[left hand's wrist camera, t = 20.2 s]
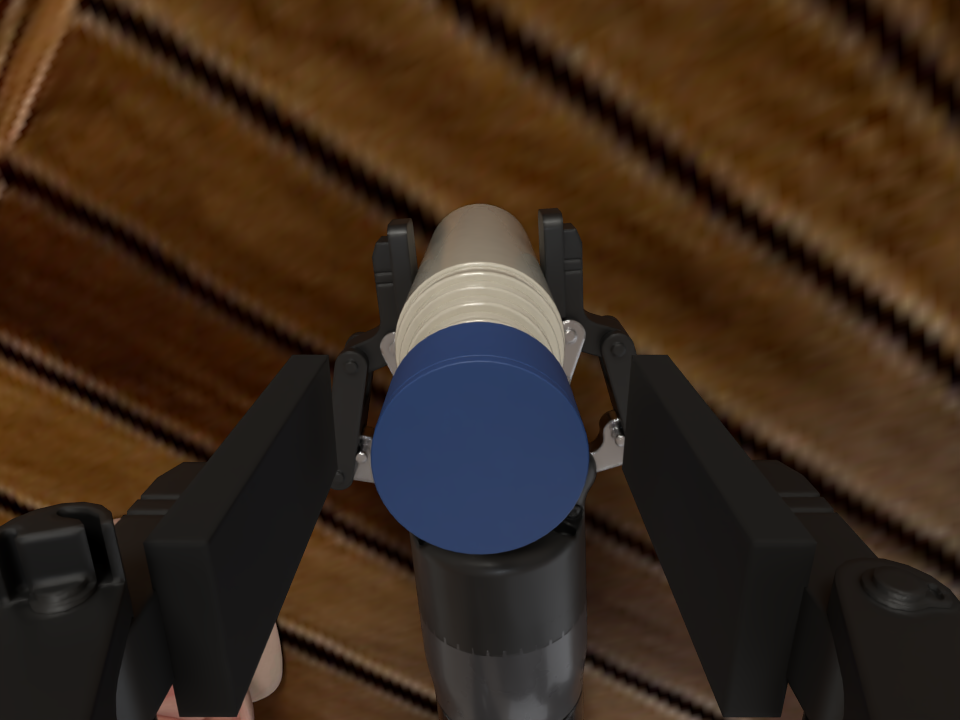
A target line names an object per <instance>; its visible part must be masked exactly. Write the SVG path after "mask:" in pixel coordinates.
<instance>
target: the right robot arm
mask: <svg viewBox="0 0 960 720" xmlns="http://www.w3.org/2000/svg"><path fill="white" fill-rule="evenodd" d="M538 224H539V249H540V267H541V270H542V272H543V274H544V277H545V279H546V282H547V284H548V287H549V289H550V291H551V294H552V296H553V299H554V301H555V304H556V306H557V308H558V311H559V313H560V316H561V319H562V323H563V327H564V333H565V357H564V365H563V370H564V372H565V374H566V376H567V379H568V382H569V384H570V383H571V378H572V375H573V372H574V369H575V367H576V364H577V361H578V358H579V355H580V352H585V353H588V354H592V355H596V356H598V357H599V361H600V364H601V368H602V371H603V375H604V378H605V382H606V385H607V389H608V392H609V396H610V399H611V403H612V406H613V410H611V411H608V412H606V413H605V414H604V415H603V416H602V417H601V419H600V421H599V428H600V431H599V434H598V436H597V438H596V439H595V440H594V441H592V442H590V443H588V445H589V469H588V475H587V479H586V483H585V486H584V488H583V491H582V493H581V495H580V497H579V499H578V501H577V502H576V504H575V506H574V508H573V509H572V510H571V511H570V513H569V514H568V515H567V517H566V518H565V519H564V520H563V521H562V522H561V523H560V524H559V525H558V526H557V527H556V528H554V529H553V530H552V531H550V532H549V533H548V534H546V535H545V536H543V537H541V538H540V539H538V540H536V541H535V542H532V543H530V544H528V545H526V546H523V547H520V548H517V549H514V550H511V551H506V552H501V553H495V554H465V553H458V552H453V551H449V550H445V549H442V548H440V547H437V546H434V545H432V544H430V543H428V542H426V541H424V540H422V539H420V538H418V537H417V536H415V535H414V534H412V533H411V532H409V534H410V541H411V549H412V557H413V564H414V572H415V580H416V588H417V596H418V604H419V612H420V619H421V627H422V634H423V642H424V649H425V655H426V659H427V663H428V666H429V670H430V674H431V677H432V680H433V682H434V687H435V692H436V700H437V708H438V716H439V720H584V707H583V670H584V664H585V658H586V651H587V600H586V550H585V499H586V496H587V493H588V491H589V489H590V488H591V486H592V484H593V483H594V481H595V478H596V474H597V472H599V471H602V470H606V469H609V468H613V467H616V466H620V465H622V463H623V451H624V439H625V427H626V415H627V403H628V392H629V380H630V368H631V356H632V355H637V354H636V351H635V347H634V343H633V341H632V340H631V338H630V337H629V335H628V334H627V332H626V331H625V329H624V328H623V327H622V325H621V324H620V322H619V321H618V320H617V319H616V318H615V317H613V316H599V315H595V314H592V313H589V312H587V311H585V310H584V309H583V271H582V242H581V239H580V237H579V235H578V232H577V230H576V228H575V227H574V226H573V225H572V224H571V223H565V224H563V219H562V213H561V212H560V211H559V209H558V208H551V209H539V210H538ZM387 234H388V236H381V238H380V239H379V240H378V241H377V242H376V245H375V249H374V252H373V256H372V259H373V267H374V273H375V282H376V290H377V297H378V305H379V313H380V325H379V326H378V327H376V328H374V329H372V330H369V331H367V332H357V333H354V334H353V335H351V336H350V338H349V339H348V341H347V343H346V345H345V348H344V350H343V351H342V352H341V353H340V354H339V356H338V358H337V359H336V362H335V369H334V378H333V387H332V403H333V415H334V427H335V439H336V451H337V463H338V470H337V472H336V475H335V477H334V480H333V482H332V485H331V487H330V488H332V489H335V490H343V489H346V488H348V487H349V486H350V485H351V484H352V482H353V480H359V481H366V482H372V483H374V480H373V475H372V469H371V454H370V453H371V445H372V439H373V435H374V431H375V428H373V427H368V426H367V418H368V410H369V403H370V395H371V387H372V379H373V372H374V370H377V369H379V368H381V367H384V366H386V365H388V367H389V369H390V370H391V372H392V374H393V376H394V374H395V371H396V369H397V365H396V357H395V332H396V326H397V322H398V319H399V316H400V313H401V311H402V308H403V306H404V303H405V301H406V299H407V296H408V294H409V291H410V289H411V286H412V284H413V282H414V279H415V277H416V274H417V272H418V268H417V259H416V249H415V240H414V231H413V223H412V219H411V218H408V219H395V220H392V221H391V222H390V223H389V224H388V228H387Z"/></svg>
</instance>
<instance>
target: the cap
mask: <svg viewBox="0 0 960 720" xmlns="http://www.w3.org/2000/svg"><path fill="white" fill-rule="evenodd" d="M370 454H371V469H372V475H373V480H374V483H375V486H376V489H377V491H378V493H379V495H380V497H381V499H382V501H383V503H384V504H385V506H386V507H387V509H388V510H389V512H390V513H391V514H392V515H393V517H394V518H395V519H396V520H397V521H398V522H399V523H400V524H401V525H402V526H403V527H405V528H406V529H407V530H408V531H409V532H411V533H412V534H414V535H415V536H417V537H418V538H420V539H422V540H424V541H426V542H428V543H430V544H432V545H434V546H437V547H440V548H442V549H445V550H449V551H453V552H458V553H465V554H495V553H501V552H506V551H511V550H514V549H517V548H520V547H523V546H526V545H528V544H530V543H532V542H535V541H536V540H538V539H540V538H541V537H543V536H545V535H546V534H548V533H549V532H550V531H552V530H553V529H554V528H556V527H557V526H558V525H559V524H560V523H561V522H562V521H563V520H564V519H565V518H566V517H567V515H568V514H569V513H570V511H571V510H572V509H573V508H574V506H575V504H576V502H577V501H578V499H579V497H580V495H581V493H582V491H583V488H584V486H585V483H586V479H587V475H588V469H589V445H588V440H587V435H586V431H585V428H584V426H583V423H582V420H581V417H580V414H579V411H578V408H577V405H576V402H575V399H574V396H573V393H572V390H571V387H570V384H569V382H568V379H567V376H566V374H565V372H564V370H563V368H562V366H561V364H560V363H559V362H558V360H557V359H556V357H555V356H554V355H553V354H552V353H551V352H550V351H549V350H548V348H547V347H546V346H544V345H543V344H542V343H541V342H539V341H538V340H537V339H535V338H534V337H532V336H530V335H529V334H527V333H525V332H523V331H521V330H518V329H516V328H514V327H510V326H507V325H503V324H498V323H492V322H469V323H461V324H457V325H453V326H449V327H447V328H444V329H441V330H439V331H437V332H435V333H433V334H431V335H429V336H428V337H426V338H425V339H423V340H422V341H420V342H419V343H418V344H417V345H416V346H415V347H414V348H412V349H411V350H410V351H409V352H408V354H407V355H406V356H405V357H404V359H403V360H402V361H401V363H400V364H399V366H398V368H397V369H396V371H395V374H394V376H393V378H392V381H391V384H390V387H389V389H388V392H387V395H386V398H385V401H384V404H383V407H382V410H381V413H380V416H379V419H378V422H377V425H376V428H375V431H374V435H373V439H372V445H371V453H370Z"/></svg>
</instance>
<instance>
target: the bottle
mask: <svg viewBox="0 0 960 720" xmlns="http://www.w3.org/2000/svg"><path fill="white" fill-rule="evenodd" d="M469 322H492V323H498V324H503V325H507V326H510V327H514V328H516V329H518V330H521V331H523V332H525V333H527V334H529V335H530V336H532V337H534V338H535V339H537V340H538V341H539V342H541V343H542V344H543V345H544V346H546V347H547V348H548V350H549V351H550V352H551V353H552V354H553V355H554V356H555V357H556V359H557V360H558V362H559V363H560V364H561V366H562V368H563V365H564V357H565V333H564V327H563V323H562V319H561V316H560V313H559V311H558V308H557V306H556V304H555V301H554V299H553V296H552V294H551V291H550V289H549V287H548V284H547V282H546V279H545V277H544V274H543V272H542V270H541V267H540V265H539V262H538V260H537V257H536V255H535V253H534V250H533V248H532V245H531V243H530V240H529V238H528V236H527V234H526V231H525V230H524V228H523V226H522V225H521V224H520V223H519V221H518V220H517V219H516V218H515V217H514V216H512V215H511V214H510V213H508V212H507V211H505V210H503V209H501V208H499V207H496V206H492V205H487V204H473V205H468V206H464V207H461V208H459V209H457V210H455V211H453V212H452V213H450V214H449V215H447V216H446V217H445V218H444V219H443V220H442V221H441V222H440V224H439V225H438V226H437V228H436V230H435V231H434V233H433V236H432V238H431V240H430V243H429V245H428V248H427V250H426V252H425V255H424V257H423V260H422V262H421V265H420V267H419V269H418V272H417V274H416V277H415V279H414V282H413V284H412V286H411V289H410V291H409V294H408V296H407V299H406V301H405V303H404V306H403V308H402V311H401V313H400V316H399V319H398V322H397V326H396V332H395V357H396V365H397V368H398V366H399V364H400V363H401V361H402V360H403V359H404V357H405V356H406V355H407V354H408V352H409V351H410V350H411V349H412V348H414V347H415V346H416V345H417V344H418V343H419V342H420V341H422V340H423V339H425V338H426V337H428V336H429V335H431V334H433V333H435V332H437V331H439V330H441V329H444V328H447V327H449V326H453V325H457V324H461V323H469Z"/></svg>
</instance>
